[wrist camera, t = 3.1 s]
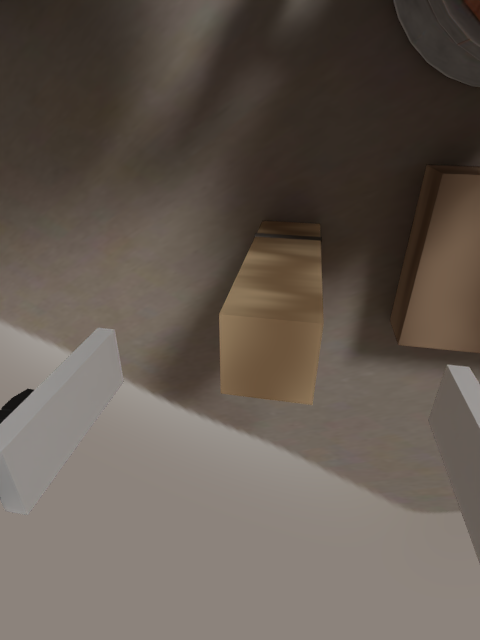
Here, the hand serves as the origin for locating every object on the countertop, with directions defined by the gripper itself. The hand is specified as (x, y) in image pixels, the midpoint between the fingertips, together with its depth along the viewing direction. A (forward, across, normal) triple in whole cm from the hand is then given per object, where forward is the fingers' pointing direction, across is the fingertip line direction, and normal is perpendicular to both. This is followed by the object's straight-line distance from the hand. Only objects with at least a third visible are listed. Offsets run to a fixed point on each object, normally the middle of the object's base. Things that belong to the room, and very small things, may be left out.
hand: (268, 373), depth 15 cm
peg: (+14, 0, 0) cm, 14 cm away
